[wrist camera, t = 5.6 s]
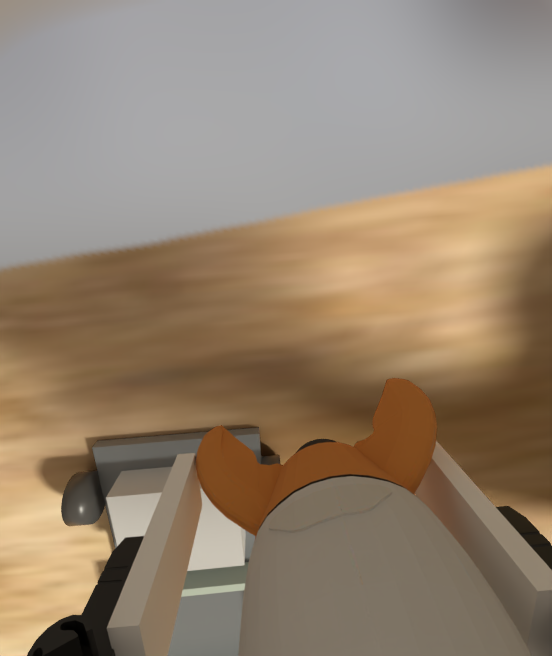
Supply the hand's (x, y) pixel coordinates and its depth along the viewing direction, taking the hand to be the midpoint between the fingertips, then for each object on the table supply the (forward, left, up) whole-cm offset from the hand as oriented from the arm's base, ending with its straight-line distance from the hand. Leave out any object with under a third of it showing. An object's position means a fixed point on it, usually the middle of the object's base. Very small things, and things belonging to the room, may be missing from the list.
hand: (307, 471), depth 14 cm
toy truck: (+9, +20, -13) cm, 26 cm away
